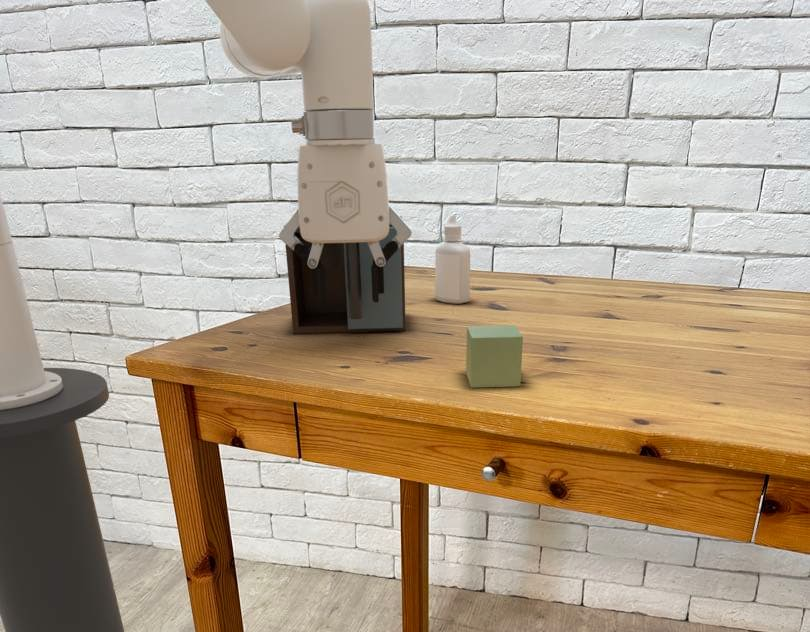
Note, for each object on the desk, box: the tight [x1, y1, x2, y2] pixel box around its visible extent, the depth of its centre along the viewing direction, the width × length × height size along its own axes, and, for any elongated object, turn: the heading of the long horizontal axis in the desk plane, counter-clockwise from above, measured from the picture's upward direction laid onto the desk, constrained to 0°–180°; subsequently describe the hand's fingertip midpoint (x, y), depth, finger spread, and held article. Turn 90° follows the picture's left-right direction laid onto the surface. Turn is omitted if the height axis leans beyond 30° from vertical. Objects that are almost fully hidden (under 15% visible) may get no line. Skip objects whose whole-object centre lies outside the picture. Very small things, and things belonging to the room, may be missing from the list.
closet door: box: [344, 227, 403, 329], centre depth 93 cm, size 6×7×12 cm
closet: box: [283, 215, 407, 334], centre depth 100 cm, size 9×15×13 cm, turn 91°
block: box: [465, 324, 524, 389], centre depth 78 cm, size 5×5×5 cm
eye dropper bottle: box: [434, 214, 471, 305], centre depth 113 cm, size 4×6×12 cm
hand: (349, 299), depth 92 cm, fingers open, 5 cm apart
